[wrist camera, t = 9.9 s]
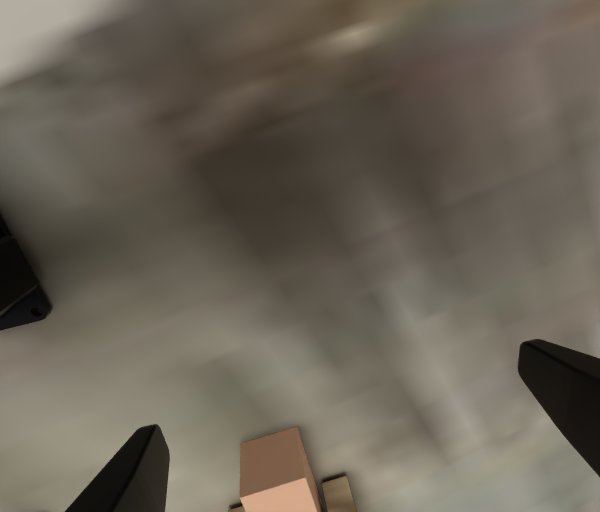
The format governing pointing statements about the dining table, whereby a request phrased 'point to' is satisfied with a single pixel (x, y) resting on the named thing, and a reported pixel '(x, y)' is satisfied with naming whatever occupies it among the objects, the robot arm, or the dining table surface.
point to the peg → (277, 475)
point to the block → (331, 496)
